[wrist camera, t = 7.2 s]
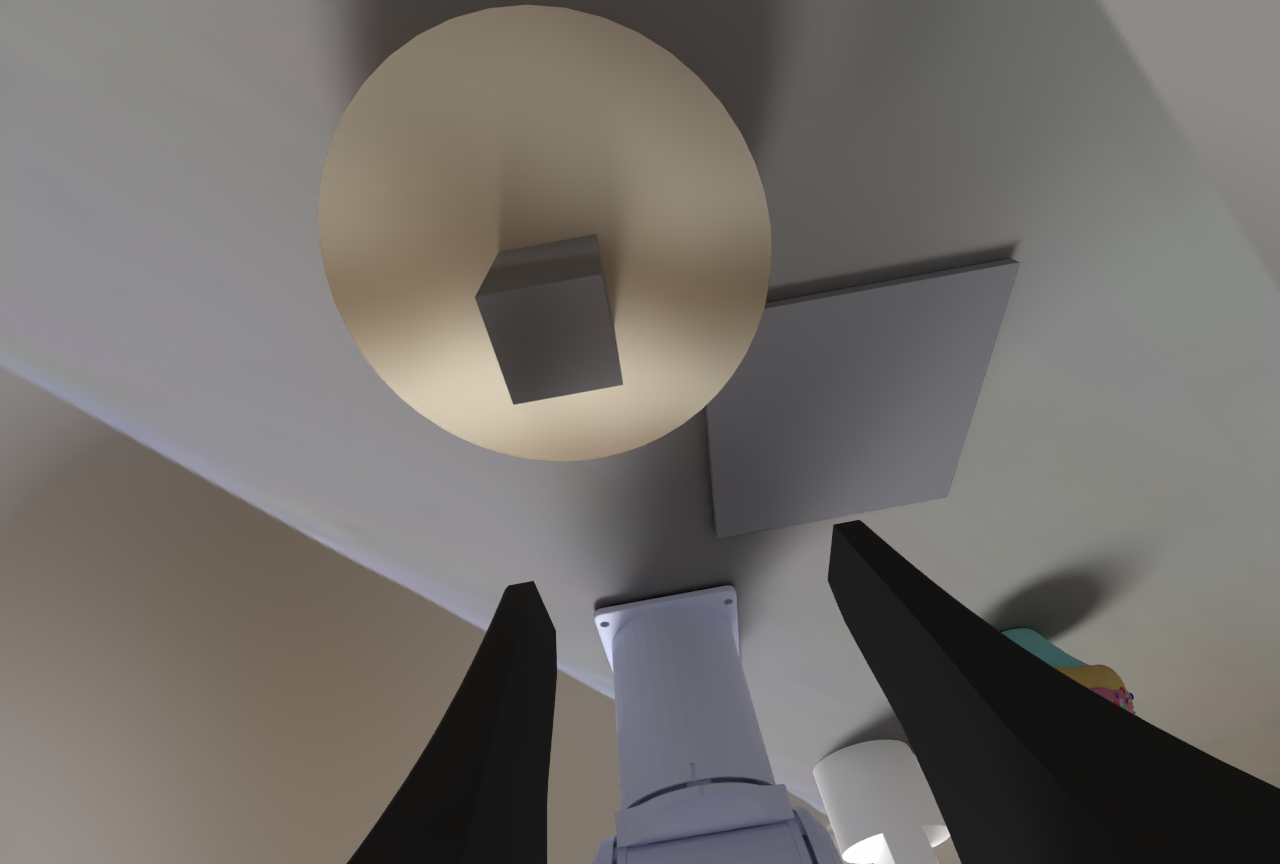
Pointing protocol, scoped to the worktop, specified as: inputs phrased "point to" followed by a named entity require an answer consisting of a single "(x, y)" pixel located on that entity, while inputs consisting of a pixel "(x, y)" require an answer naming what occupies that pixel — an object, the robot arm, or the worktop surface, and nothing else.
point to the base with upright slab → (880, 804)
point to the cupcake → (1075, 667)
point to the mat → (854, 398)
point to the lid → (545, 233)
